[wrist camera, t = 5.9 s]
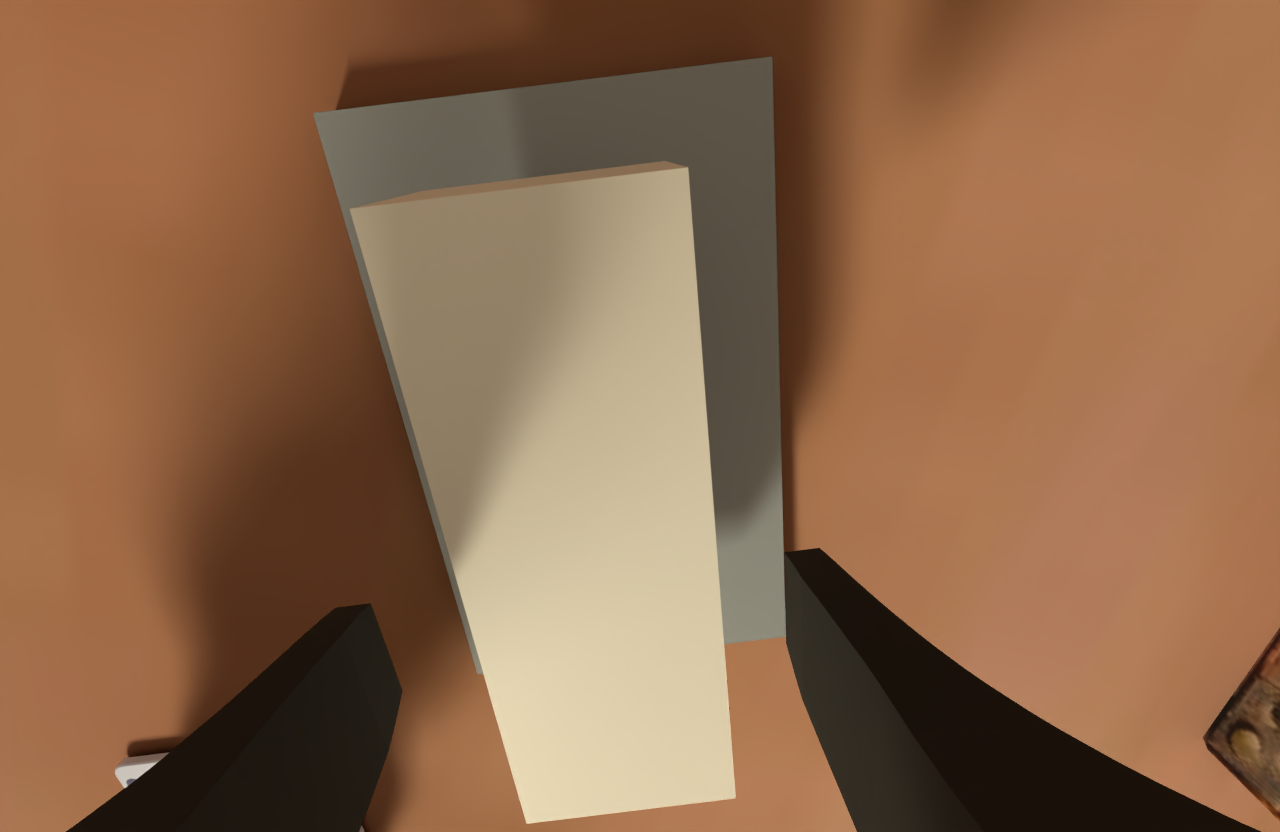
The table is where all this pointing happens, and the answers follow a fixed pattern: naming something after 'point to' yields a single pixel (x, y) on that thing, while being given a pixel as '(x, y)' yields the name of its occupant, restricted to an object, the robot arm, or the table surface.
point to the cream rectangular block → (569, 470)
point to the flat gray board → (723, 244)
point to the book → (1253, 730)
